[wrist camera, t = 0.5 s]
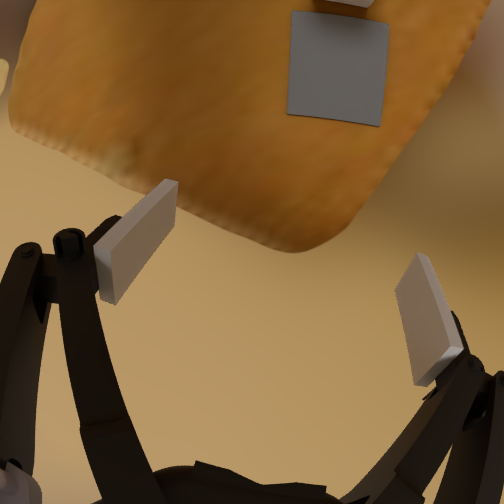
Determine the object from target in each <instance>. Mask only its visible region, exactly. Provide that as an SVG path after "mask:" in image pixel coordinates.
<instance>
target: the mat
mask: <svg viewBox="0 0 504 504" xmlns="http://www.w3.org/2000/svg"><path fill="white" fill-rule="evenodd" d="M388 37H389V24H386V23H381V22H376V21H371V20H366V19H360V18H354V17H348V16H341V15H334V14H325V13H316V12H305V11H292V24H291V47H290V67H289V86H288V104H287V114H294V115H304V116H313V117H322V118H329V119H337V120H344V121H350V122H357V123H363V124H369V125H374V126H380V123H381V115H382V107H383V98H384V89H385V78H386V67H387V54H388Z"/></svg>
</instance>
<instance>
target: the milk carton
mask: <svg viewBox="0 0 504 504" xmlns="http://www.w3.org/2000/svg"><path fill="white" fill-rule="evenodd" d="M327 1H333V2H339V3H345V4H350V5H355V6H360V7H365V8H368V7H369V6H370V5H371V4H372V3H373V2H374V1H375V0H327Z"/></svg>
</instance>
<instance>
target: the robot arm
mask: <svg viewBox="0 0 504 504" xmlns="http://www.w3.org/2000/svg"><path fill="white" fill-rule="evenodd" d="M178 184H179V182H178V181H174V180H170V179H166V178H165V179H164V180H163V181H162V182H161V183H160V184H158V185H157V186H156V187H155V188H154V189H153V190H152V191H151V192H149V193H148V194H147V195H146V196H145V197H144V198H143V199H142V200H141V201H139V202H138V203H137V204H136V205H135V206H134V207H133V208H132V209H131V210H130V211H129V212H128V213H127V214H125V215H124V216H123V217H121V216H117V215H114V216H112V217H110V218H108V219H106V220H104V222H102V223H101V224H100V226H98V227H97V228H96V229H95V230H94V231H93V232H92V233H91V234H89V235H88V236H87V237H85V234H84V232H83V231H81V230H80V229H76V228H67V229H63V230H61V231H59V232H58V233H57V234H56V235H55V236H54V238H53V245H54V250H55V255H54V254H43V253H42V250H41V247H40V245H39V244H37V243H34V242H28V243H24V244H22V245H20V246H18V247H17V248H16V249H15V251H14V252H13V254H12V257H11V259H10V261H9V263H8V266H7V268H6V271H5V273H4V275H3V278H2V280H1V283H0V504H42V492H41V488H40V486H39V485H38V483H37V482H36V481H35V479H34V478H32V474H33V467H34V453H35V421H36V405H37V392H38V383H39V374H40V367H41V359H42V352H43V346H44V340H45V334H46V329H47V324H48V318H49V313H50V309H51V304H52V303H56V304H59V311H60V320H61V328H62V336H63V343H64V349H65V355H66V361H67V367H68V372H69V377H70V382H71V387H72V391H73V396H74V400H75V404H76V408H77V412H78V416H79V420H80V435H81V438H82V442H83V445H84V449H85V452H86V455H87V458H88V461H89V464H90V467H91V470H92V473H93V476H94V478H95V481H96V484H97V486H98V489H99V491H100V494H101V496H102V499H101V500H98V501H96V502H94V503H92V504H424V502H425V498H424V497H423V496H422V493H423V492H424V490H425V489H426V487H427V485H428V484H429V483H430V481H431V479H432V478H433V476H434V474H435V473H436V472H437V470H438V468H439V467H440V465H441V463H442V462H443V460H444V458H445V456H446V455H447V453H448V451H449V449H450V448H451V446H452V449H451V452H450V456H449V459H448V462H447V466H446V469H445V472H444V475H443V478H442V481H441V484H440V487H439V490H438V492H437V495H436V498H435V501H434V503H433V504H499V503H500V499H501V495H502V490H503V485H504V371H498V372H497V373H496V374H495V375H494V376H491V375H489V374H488V373H486V372H485V370H484V366H483V364H482V362H481V361H480V360H479V358H477V357H476V356H474V355H472V354H470V351H469V347H468V345H467V342H466V339H465V336H464V335H463V330H462V329H461V325H460V322H459V320H458V318H457V317H456V315H455V314H454V312H453V311H451V310H450V308H449V306H448V303H447V301H446V298H445V295H444V293H443V291H442V288H441V286H440V283H439V281H438V279H437V276H436V274H435V272H434V269H433V267H432V265H431V263H430V260H429V258H428V256H426V255H423V254H420V253H417V252H416V254H415V256H414V257H413V259H412V261H411V263H410V265H409V266H408V268H407V270H406V271H405V273H404V275H403V277H402V278H401V280H400V282H399V283H398V285H397V287H396V288H395V293H396V297H397V301H398V306H399V310H400V314H401V318H402V323H403V328H404V332H405V337H406V342H407V347H408V352H409V358H410V363H411V369H412V375H413V382H414V385H417V386H424V387H427V386H428V385H429V384H431V383H432V382H433V381H434V380H435V381H436V387H435V388H434V389H433V390H432V391H431V392H429V394H427V396H425V397H424V398H423V399H422V400H425V399H426V400H425V401H424V403H423V404H422V406H421V407H420V409H419V410H418V411H417V413H416V414H415V416H414V417H413V418H412V420H411V421H410V422H409V424H408V425H407V426H406V428H405V429H404V430H403V432H402V433H401V435H400V436H399V437H398V438H397V439H396V441H395V442H394V443H393V444H392V446H391V447H390V448H389V449H388V451H387V452H386V453H385V454H384V455H383V457H382V458H381V459H380V460H379V461H378V462H377V464H376V465H375V466H374V467H373V468H372V469H371V470H370V471H369V472H368V474H367V475H366V476H365V477H364V478H363V479H362V480H361V481H360V482H359V484H357V485H356V486H355V487H354V488H353V489H352V491H350V492H349V493H348V494H346V495H345V496H343V497H342V498H341V499H339V500H338V499H337V498H335V497H334V496H332V495H330V494H328V493H326V486H323V485H314V484H313V485H312V484H305V483H297V482H295V483H284V484H268V485H262V484H259V483H256V482H254V481H252V480H250V479H248V478H245V477H243V476H241V475H239V474H237V473H235V472H233V471H231V470H229V469H225V468H221V467H217V466H214V465H210V464H206V463H203V462H200V461H195V464H194V466H173V467H168V468H164V469H161V470H158V471H155V472H152V469H151V467H150V465H149V463H148V461H147V458H146V456H145V453H144V451H143V449H142V446H141V444H140V442H139V439H138V437H137V434H136V431H135V429H134V427H133V424H132V421H131V419H130V416H129V415H128V412H127V409H126V406H125V403H124V400H123V397H122V395H121V392H120V389H119V385H118V382H117V379H116V376H115V373H114V369H113V366H112V363H111V359H110V355H109V352H108V349H107V345H106V341H105V337H104V333H103V329H102V325H101V321H100V316H99V312H98V308H97V303H96V299H95V294H96V292H97V291H98V290H99V294H100V299H101V300H103V301H105V302H108V303H111V304H113V305H116V304H117V303H118V301H119V300H120V299H121V297H122V296H123V294H124V293H125V291H126V290H127V289H128V287H129V286H130V284H131V283H132V281H133V280H134V279H135V278H136V276H137V275H138V273H139V272H140V271H141V269H142V268H143V266H144V265H145V264H146V262H147V261H148V260H149V258H150V257H151V256H152V254H153V253H154V252H155V251H156V249H157V248H158V247H159V245H160V244H161V243H162V241H163V240H164V239H165V237H166V236H167V235H168V233H169V232H170V231H171V230H172V228H173V227H174V222H175V211H176V202H177V193H178ZM452 444H453V445H452Z"/></svg>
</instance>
